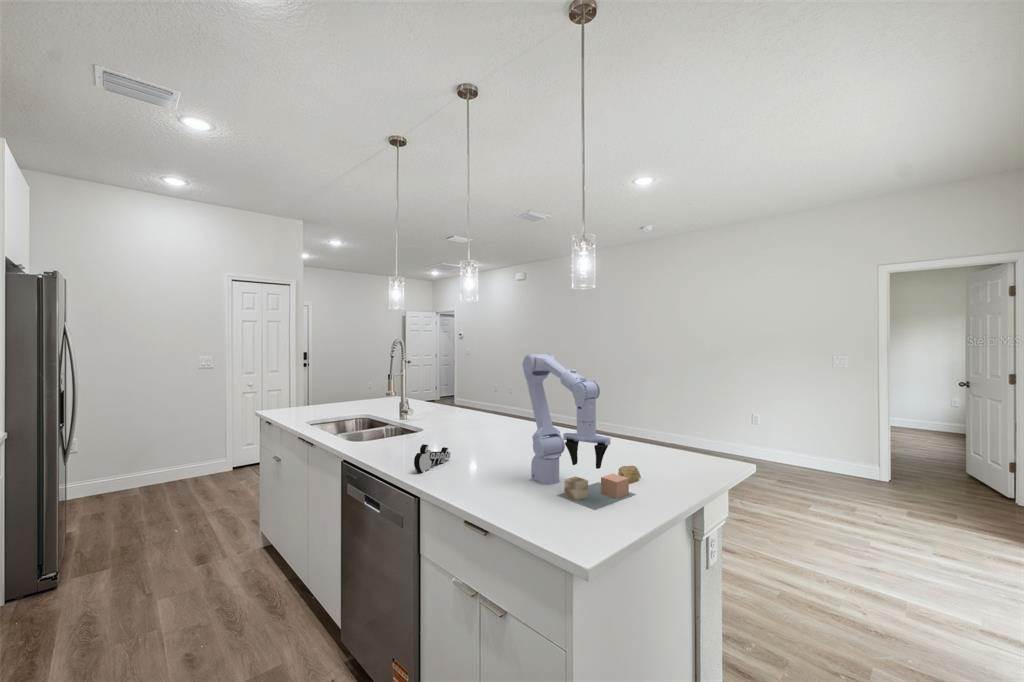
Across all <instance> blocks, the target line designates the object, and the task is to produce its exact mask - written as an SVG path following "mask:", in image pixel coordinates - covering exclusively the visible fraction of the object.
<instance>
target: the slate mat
mask: <svg viewBox="0 0 1024 682" xmlns="http://www.w3.org/2000/svg"><path fill="white" fill-rule="evenodd" d="M634 496H637V493H633V492H630V491H629V495H626V496H623V497H621V498H618V499H616V498H613V497H610V496H607V495H604V494H601V482H598V481H597V482H595V483H591V484H588V497H586V498H583V499H580V500H577V501H576V500H574V499H571V498H569V497H566V496H564V492H561V493H559V494H556V497H560V498H561V499H565V500H567V501H570V502H572V503H575V504H578V505H580V506H583V507H586V508H588V509H591V510H593V511H597V510H600V509H601V508H605V507H606V506H610V505H613V504H615V503H618V502H621V501H623V500H626V499H629V498H631V497H634Z"/></svg>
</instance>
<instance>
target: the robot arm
mask: <svg viewBox="0 0 1024 682" xmlns="http://www.w3.org/2000/svg"><path fill="white" fill-rule="evenodd" d="M521 365H522V369H523V374H524V378H525V380H526V384H527V388H528V393H529V397H530V403H531V405H532V406H531V407H532V411H533V415H534V420H535V423H536V427H537V429H536V430H535V432H534V434H533V435H532V437H531V438H532V449H533V453H534V454H535V455H534V456H533V457H532V459H531V465H530V466H531V469H530V470H531V471H530V473H531V475H530V479H529V481H537V482H538V483H540V484H544V485H556V484H558V483H560V457H562V454H563V453H564V451H565V448H567V450H568V453H569V455H570V459H571V464H572V466H576V465H577V464H578V458H579V457H578V451H579V450H578V449H579V444H580V443H579V442H583V443H591V444H595V445H594V452H595V469H597V470H598V469H601V468H602V463H603V459H604V457H605V456H604V455H605V453H606V451H607V449H608V447H609V446H610V445H611V437H609V436H608V437H607V436H602V435H597V425H596V424H597V415H596V414H597V405H596V402H597V401H596V400H597V399H598V398H599V397H600V394H601V389H600V385H599V384H598V383H597V382H596V380H587V379H586V377H585V376H582V375H580V374H579V373H578V372H577V370H576V369H575V368H573V369H572V368H571V369H566V367H565V366H563V365H562V364H560V363H559V362H558V361H557V360H556V357H555V356H553V355H552V354H550V353H541V354H540V353H538V354H535V353H533V354H531V353H527V354H525V356H524V358H523V360H522V363H521ZM550 373H551V374H553V375H554V376H556V377H557V378H558V379H560V383H561V385H563V386H564V387H565V388H566V389H567V390H568V391H569V392H571V394H572V396H573V398H574V404H575V407H576V432H575V433H573V432H563V434H562V435H563V437H562V435H561V431H560V430H559V429H558V428H557V427H555V426H554V425H553V421H552V416H551V414H550V408H549V404H548V401H547V396H546V392H545V388H544V383H543V382H544V380H546V379H547V378H548V377H549V375H550Z"/></svg>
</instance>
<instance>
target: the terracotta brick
mask: <svg viewBox="0 0 1024 682" xmlns="http://www.w3.org/2000/svg"><path fill="white" fill-rule="evenodd" d="M600 483H601V494H604V495H607V496H610V497H613V498H616V499H618V498H621V497H623V496H626V495H629V492H630V491H629V489H630V483H629V478H626V477H623V476H619V475H618V474H616V473H610V474H608V475H605V476H601V477H600Z"/></svg>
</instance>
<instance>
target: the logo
mask: <svg viewBox="0 0 1024 682" xmlns="http://www.w3.org/2000/svg"><path fill="white" fill-rule="evenodd" d="M450 458H451V452H450V451H449V447H446V446H445V447H442V448H441V451H431V450H429V444H424V443H423V444H421V445H420V449H419V452H418V453H416V454H415V455H414V460H413V466H414V469H415V471H416V473H420V472H424V471H425V472H427V471H429V470H430V469H431V467H432V465H438V464H445V463H446V462H447V459H450ZM444 462H445V463H444ZM425 472H424V473H425Z"/></svg>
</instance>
